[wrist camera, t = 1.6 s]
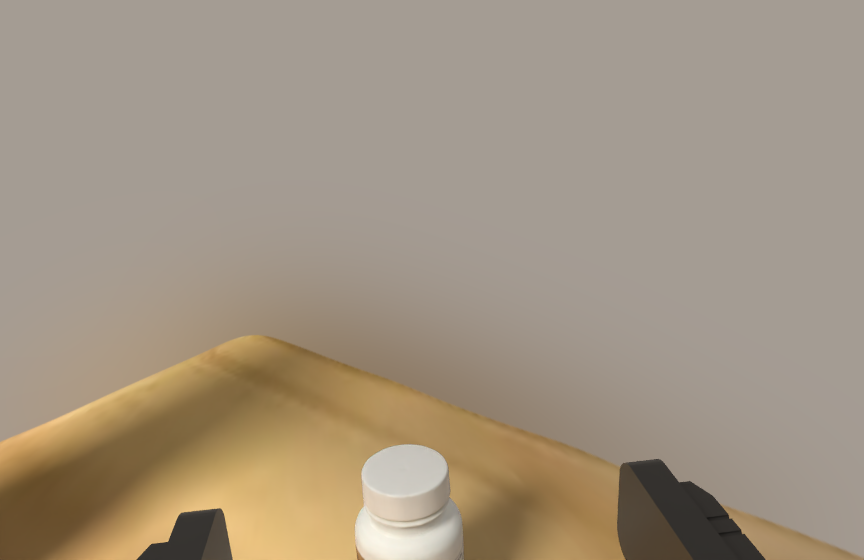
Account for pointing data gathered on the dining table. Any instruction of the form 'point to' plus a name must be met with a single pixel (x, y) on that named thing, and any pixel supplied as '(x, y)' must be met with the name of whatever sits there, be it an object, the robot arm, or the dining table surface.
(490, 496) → the dining table surface
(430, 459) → the pill bottle
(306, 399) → the dining table surface
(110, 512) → the dining table surface
